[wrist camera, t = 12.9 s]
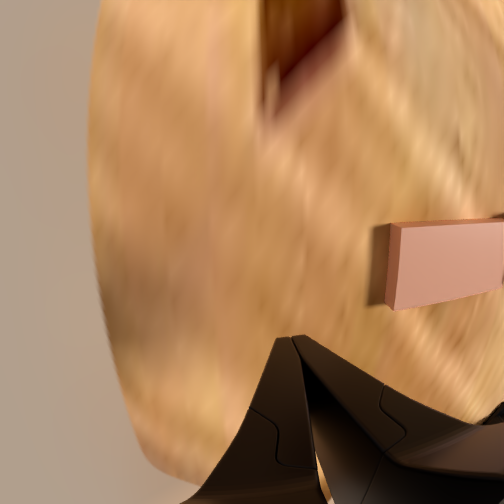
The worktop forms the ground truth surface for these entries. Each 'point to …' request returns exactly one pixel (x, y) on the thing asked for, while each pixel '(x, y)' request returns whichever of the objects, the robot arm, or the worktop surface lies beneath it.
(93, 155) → the worktop surface
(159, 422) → the worktop surface
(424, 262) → the pink rectangular block
